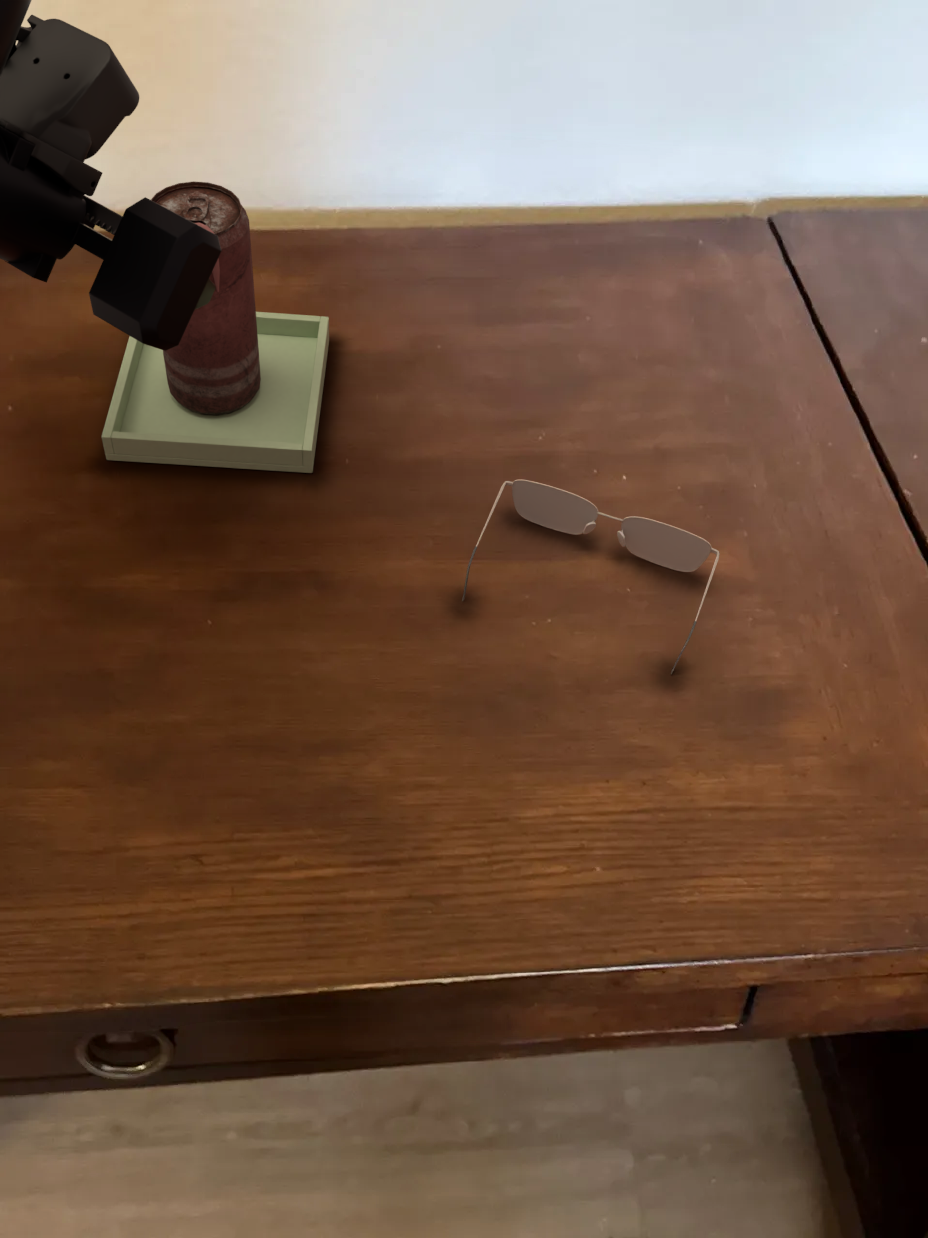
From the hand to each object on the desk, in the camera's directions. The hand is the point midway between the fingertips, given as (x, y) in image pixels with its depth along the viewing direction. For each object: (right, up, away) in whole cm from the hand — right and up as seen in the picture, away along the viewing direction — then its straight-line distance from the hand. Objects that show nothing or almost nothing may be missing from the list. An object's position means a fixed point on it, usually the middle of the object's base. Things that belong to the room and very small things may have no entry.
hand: (149, 260), depth 69 cm
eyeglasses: (+25, -19, +5) cm, 32 cm away
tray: (+2, -5, +13) cm, 14 cm away
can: (+1, -5, +13) cm, 14 cm away
